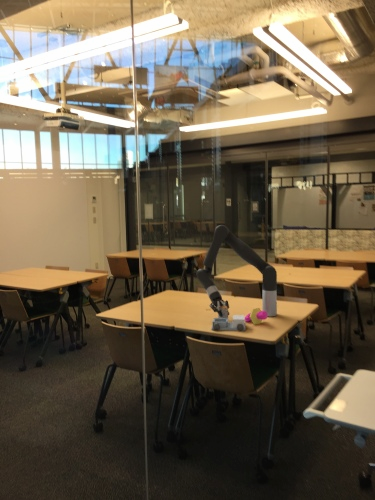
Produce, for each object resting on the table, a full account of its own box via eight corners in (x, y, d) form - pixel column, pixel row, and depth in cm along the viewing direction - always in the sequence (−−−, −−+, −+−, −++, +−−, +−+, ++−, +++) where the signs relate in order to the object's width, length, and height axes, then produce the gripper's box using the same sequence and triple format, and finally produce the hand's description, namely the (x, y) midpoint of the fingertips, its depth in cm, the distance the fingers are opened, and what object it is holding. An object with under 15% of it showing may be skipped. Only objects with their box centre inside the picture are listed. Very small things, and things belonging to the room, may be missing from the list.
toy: (254, 319, 268) (247, 306, 267) (274, 317, 254) (266, 303, 252) (246, 328, 262) (238, 315, 261) (266, 326, 248) (257, 312, 246)
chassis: (245, 324, 254) (245, 314, 253) (245, 331, 241) (245, 320, 240) (213, 324, 257) (213, 313, 256) (211, 330, 244) (211, 319, 243)
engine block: (224, 320, 265) (223, 305, 264) (228, 321, 261) (228, 306, 260) (218, 321, 263) (218, 306, 262) (222, 322, 259) (222, 307, 258)
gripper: (207, 292, 263) (218, 314, 254) (224, 289, 270) (236, 311, 261) (202, 298, 268) (213, 320, 259) (220, 296, 275) (231, 317, 266)
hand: (225, 315), depth 260 cm, fingers closed on engine block, 4 cm apart
